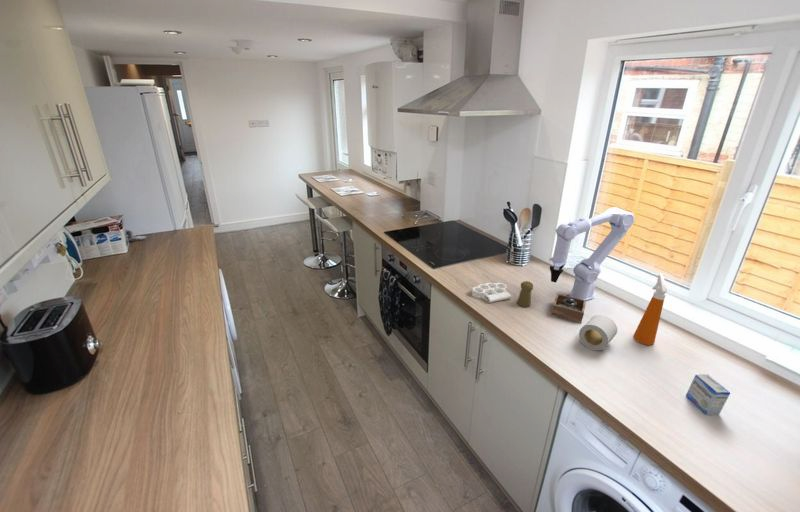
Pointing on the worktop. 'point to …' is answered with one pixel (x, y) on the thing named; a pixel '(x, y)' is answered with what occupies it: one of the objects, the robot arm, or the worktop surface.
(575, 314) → the frame
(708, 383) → the medicine box
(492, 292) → the knuckle duster
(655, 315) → the spray bottle
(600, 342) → the toilet paper
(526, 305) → the brown tapered figure
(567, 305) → the plunger
